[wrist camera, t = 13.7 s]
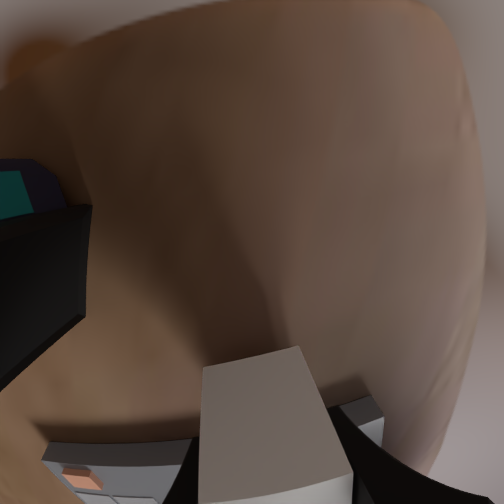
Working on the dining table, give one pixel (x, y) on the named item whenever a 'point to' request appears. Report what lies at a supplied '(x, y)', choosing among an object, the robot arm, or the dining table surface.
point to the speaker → (38, 264)
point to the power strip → (152, 462)
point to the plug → (268, 435)
